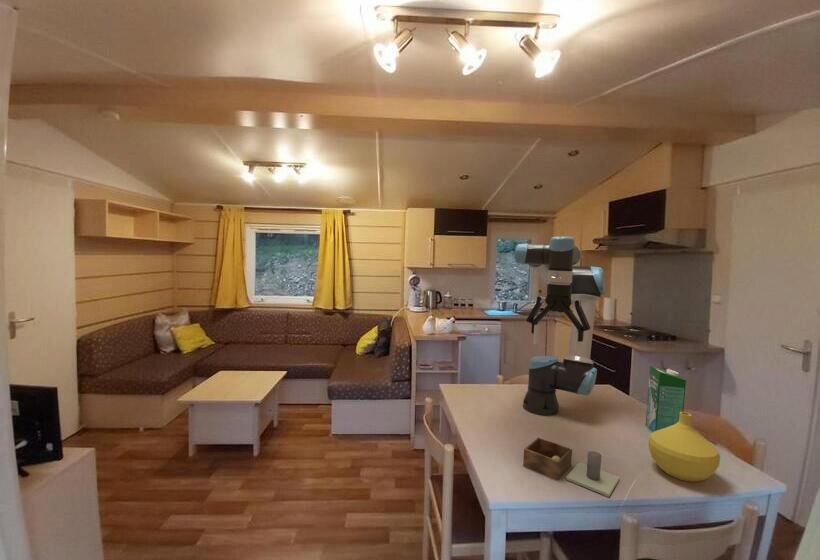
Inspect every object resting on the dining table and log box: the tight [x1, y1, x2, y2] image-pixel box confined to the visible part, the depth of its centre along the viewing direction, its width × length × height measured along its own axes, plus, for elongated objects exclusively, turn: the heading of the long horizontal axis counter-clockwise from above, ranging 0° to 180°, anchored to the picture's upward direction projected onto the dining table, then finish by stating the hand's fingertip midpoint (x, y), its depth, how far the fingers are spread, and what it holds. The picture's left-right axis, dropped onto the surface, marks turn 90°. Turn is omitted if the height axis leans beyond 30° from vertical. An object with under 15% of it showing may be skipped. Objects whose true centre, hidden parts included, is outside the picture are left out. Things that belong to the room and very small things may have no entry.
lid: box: [565, 450, 620, 498], centre depth 113 cm, size 12×12×9 cm
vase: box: [648, 411, 721, 483], centre depth 120 cm, size 18×18×19 cm
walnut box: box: [522, 437, 573, 481], centre depth 120 cm, size 11×11×6 cm
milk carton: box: [645, 365, 687, 433], centre depth 148 cm, size 9×9×25 cm
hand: (555, 347), depth 127 cm, fingers open, 13 cm apart
